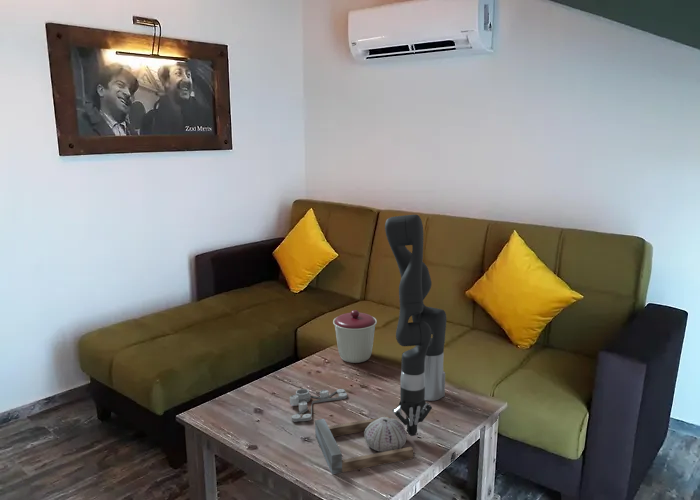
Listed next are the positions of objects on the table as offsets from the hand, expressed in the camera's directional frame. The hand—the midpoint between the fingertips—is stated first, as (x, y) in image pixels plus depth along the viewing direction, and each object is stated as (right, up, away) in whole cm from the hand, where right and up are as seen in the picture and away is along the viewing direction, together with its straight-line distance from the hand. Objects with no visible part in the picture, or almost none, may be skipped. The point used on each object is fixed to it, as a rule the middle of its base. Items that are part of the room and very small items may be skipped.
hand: (411, 434), depth 179 cm
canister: (-17, +13, +60) cm, 63 cm away
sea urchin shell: (-8, -2, -2) cm, 9 cm away
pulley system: (-33, +3, +23) cm, 40 cm away
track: (-16, -3, -4) cm, 16 cm away
